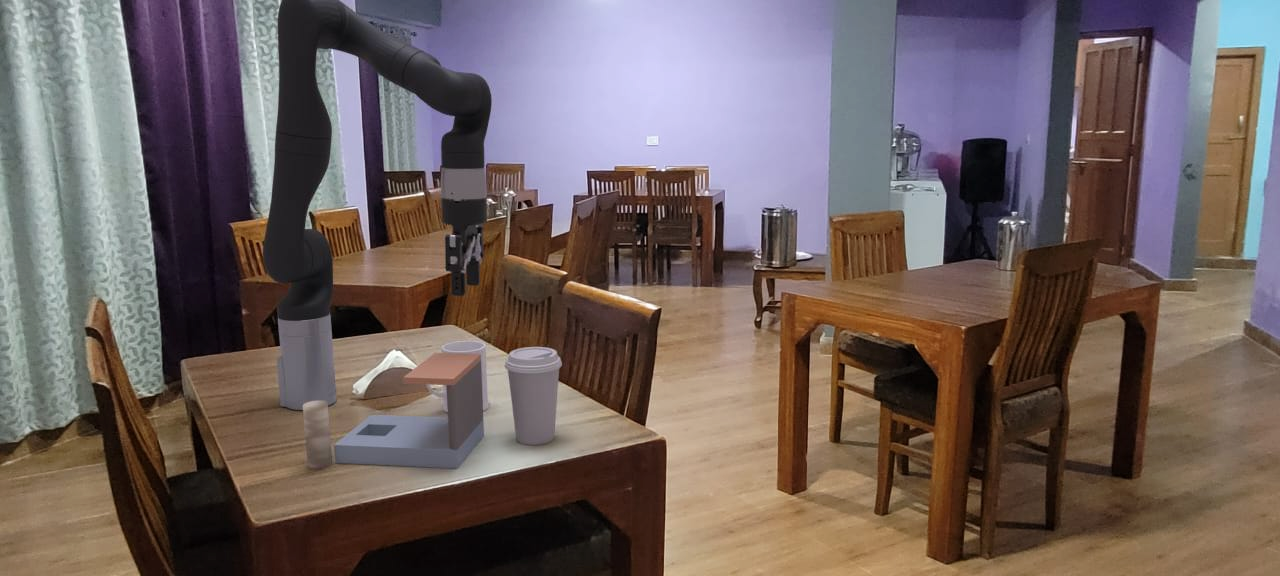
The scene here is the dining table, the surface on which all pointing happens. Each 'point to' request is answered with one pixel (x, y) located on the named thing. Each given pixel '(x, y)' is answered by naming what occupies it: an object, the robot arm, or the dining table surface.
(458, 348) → the mug
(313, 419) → the peg
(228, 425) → the dining table surface
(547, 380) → the coffee cup
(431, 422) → the socket board
